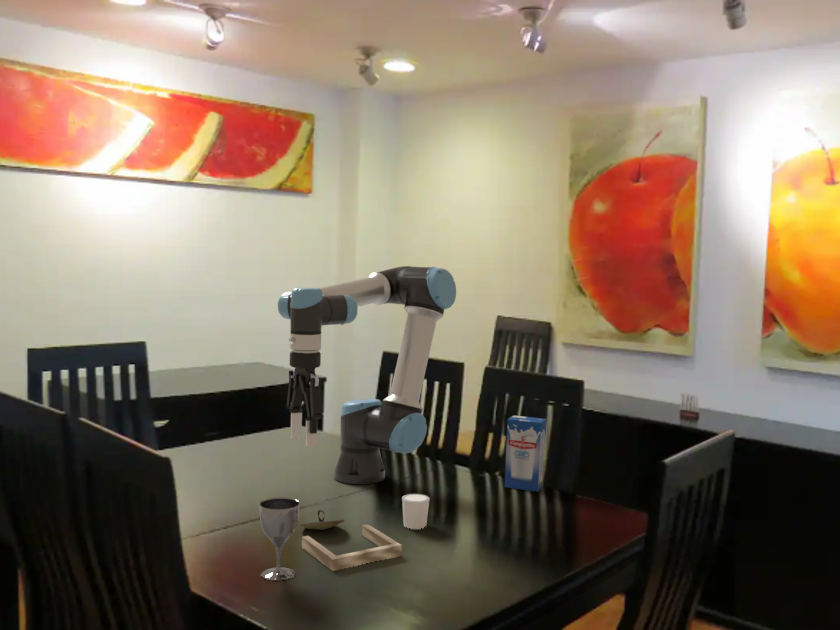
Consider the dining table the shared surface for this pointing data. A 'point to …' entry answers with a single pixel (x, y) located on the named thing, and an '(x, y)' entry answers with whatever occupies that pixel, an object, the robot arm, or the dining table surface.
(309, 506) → the dining table surface
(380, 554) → the wooden u-shaped frame
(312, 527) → the lid
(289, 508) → the wine glass
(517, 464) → the milk carton
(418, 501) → the white cup
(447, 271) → the robot arm
